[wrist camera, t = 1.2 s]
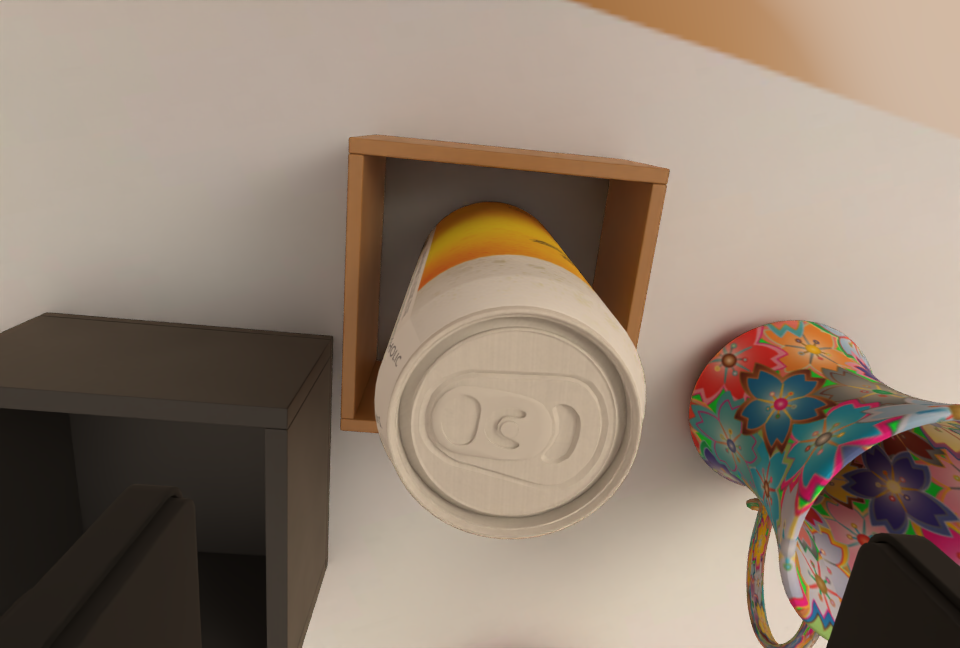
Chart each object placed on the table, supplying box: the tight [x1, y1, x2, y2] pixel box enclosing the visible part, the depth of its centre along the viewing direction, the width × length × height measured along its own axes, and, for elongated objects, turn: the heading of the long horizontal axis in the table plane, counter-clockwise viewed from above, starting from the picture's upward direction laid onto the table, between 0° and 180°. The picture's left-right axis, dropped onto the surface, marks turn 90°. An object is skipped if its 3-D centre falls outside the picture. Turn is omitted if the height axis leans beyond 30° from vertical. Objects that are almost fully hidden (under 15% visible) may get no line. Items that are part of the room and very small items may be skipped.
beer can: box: [374, 202, 646, 539], centre depth 20 cm, size 6×6×15 cm
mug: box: [689, 320, 960, 648], centre depth 24 cm, size 12×9×11 cm
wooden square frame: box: [340, 135, 670, 433], centre depth 24 cm, size 10×10×6 cm
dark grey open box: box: [0, 313, 333, 648], centre depth 26 cm, size 13×13×8 cm
